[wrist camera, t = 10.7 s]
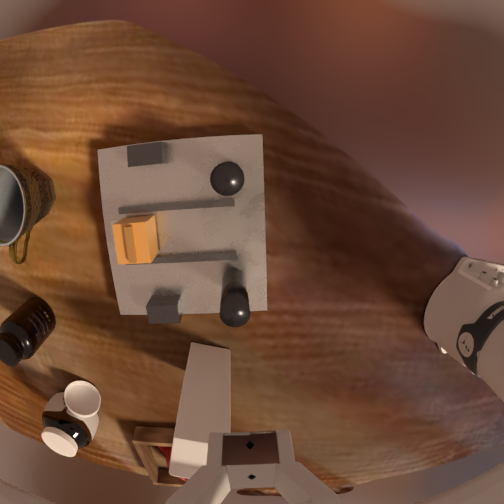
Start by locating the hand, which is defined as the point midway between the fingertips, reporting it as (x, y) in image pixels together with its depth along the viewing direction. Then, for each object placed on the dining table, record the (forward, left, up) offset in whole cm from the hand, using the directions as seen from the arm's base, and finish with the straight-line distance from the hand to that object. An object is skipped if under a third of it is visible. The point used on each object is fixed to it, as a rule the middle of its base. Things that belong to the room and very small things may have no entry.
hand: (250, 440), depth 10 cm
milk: (+6, +19, -32) cm, 38 cm away
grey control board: (+7, -2, -32) cm, 33 cm away
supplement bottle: (+34, +11, -32) cm, 48 cm away
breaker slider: (+12, -2, -28) cm, 31 cm away
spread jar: (+32, +29, -32) cm, 54 cm away
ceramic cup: (+29, -7, -32) cm, 43 cm away
